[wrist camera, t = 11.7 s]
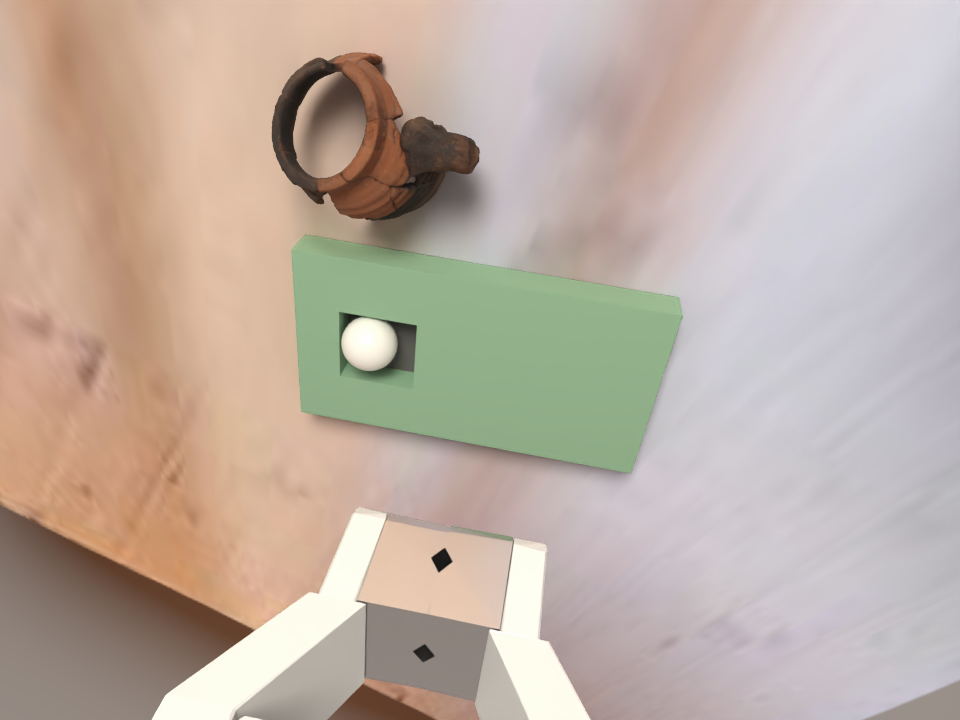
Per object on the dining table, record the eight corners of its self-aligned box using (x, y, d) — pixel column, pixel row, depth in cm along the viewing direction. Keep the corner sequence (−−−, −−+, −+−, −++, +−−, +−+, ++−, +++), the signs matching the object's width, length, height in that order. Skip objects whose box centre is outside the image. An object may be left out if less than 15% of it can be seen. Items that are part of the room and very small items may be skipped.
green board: (679, 297, 45) (682, 315, 42) (630, 451, 52) (631, 473, 50) (305, 234, 46) (291, 249, 44) (312, 393, 54) (301, 411, 52)
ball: (415, 328, 48) (378, 319, 45) (399, 380, 48) (361, 376, 45) (377, 313, 50) (338, 304, 47) (361, 363, 51) (323, 358, 47)
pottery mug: (344, 224, 46) (257, 211, 39) (347, 81, 45) (259, 40, 37) (503, 227, 41) (439, 214, 34) (512, 67, 40) (448, 17, 32)
